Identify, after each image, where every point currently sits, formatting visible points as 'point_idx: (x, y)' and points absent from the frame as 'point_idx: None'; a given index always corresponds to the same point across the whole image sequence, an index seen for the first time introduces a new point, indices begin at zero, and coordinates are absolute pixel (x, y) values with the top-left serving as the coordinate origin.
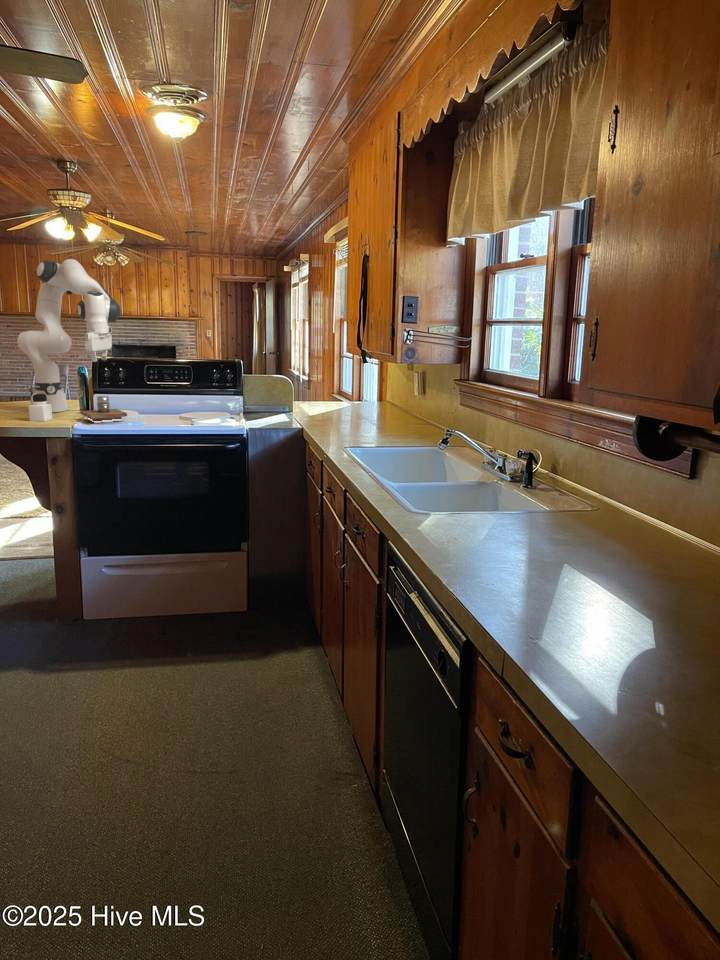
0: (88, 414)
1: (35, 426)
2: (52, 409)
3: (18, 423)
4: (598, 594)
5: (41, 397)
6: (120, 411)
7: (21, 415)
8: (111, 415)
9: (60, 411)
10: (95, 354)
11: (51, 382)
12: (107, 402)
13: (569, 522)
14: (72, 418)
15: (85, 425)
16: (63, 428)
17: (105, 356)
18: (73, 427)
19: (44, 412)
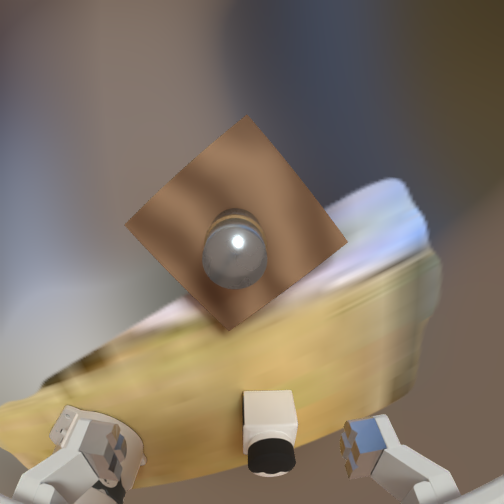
0: (320, 263)
1: (380, 365)
2: (125, 433)
3: (329, 419)
4: None
5: (289, 451)
6: (198, 168)
7: (197, 460)
8: (293, 171)
9: (109, 416)
10: (431, 470)
11: (99, 492)
12: (244, 221)
13: None
14: (208, 351)
15: (358, 241)
16: (417, 279)
17: (91, 450)
18: (400, 260)
19: (291, 408)
